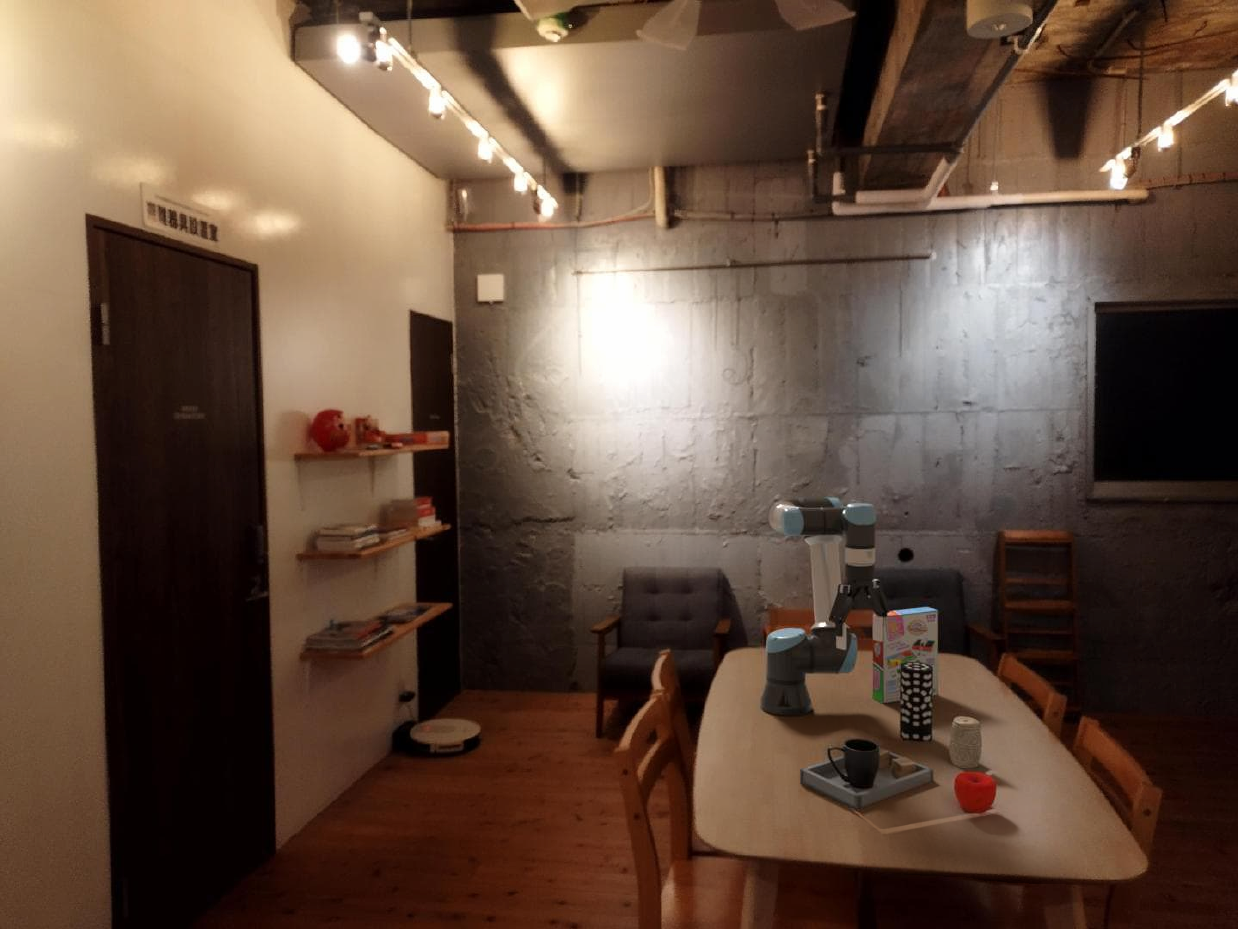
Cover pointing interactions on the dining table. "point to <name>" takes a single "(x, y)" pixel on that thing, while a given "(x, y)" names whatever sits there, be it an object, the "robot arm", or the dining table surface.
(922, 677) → the spotted tube
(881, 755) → the walnut block
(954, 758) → the carving
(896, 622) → the game box
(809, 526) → the robot arm
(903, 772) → the walnut block
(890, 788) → the tray
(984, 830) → the dining table surface
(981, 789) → the apple
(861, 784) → the mug
